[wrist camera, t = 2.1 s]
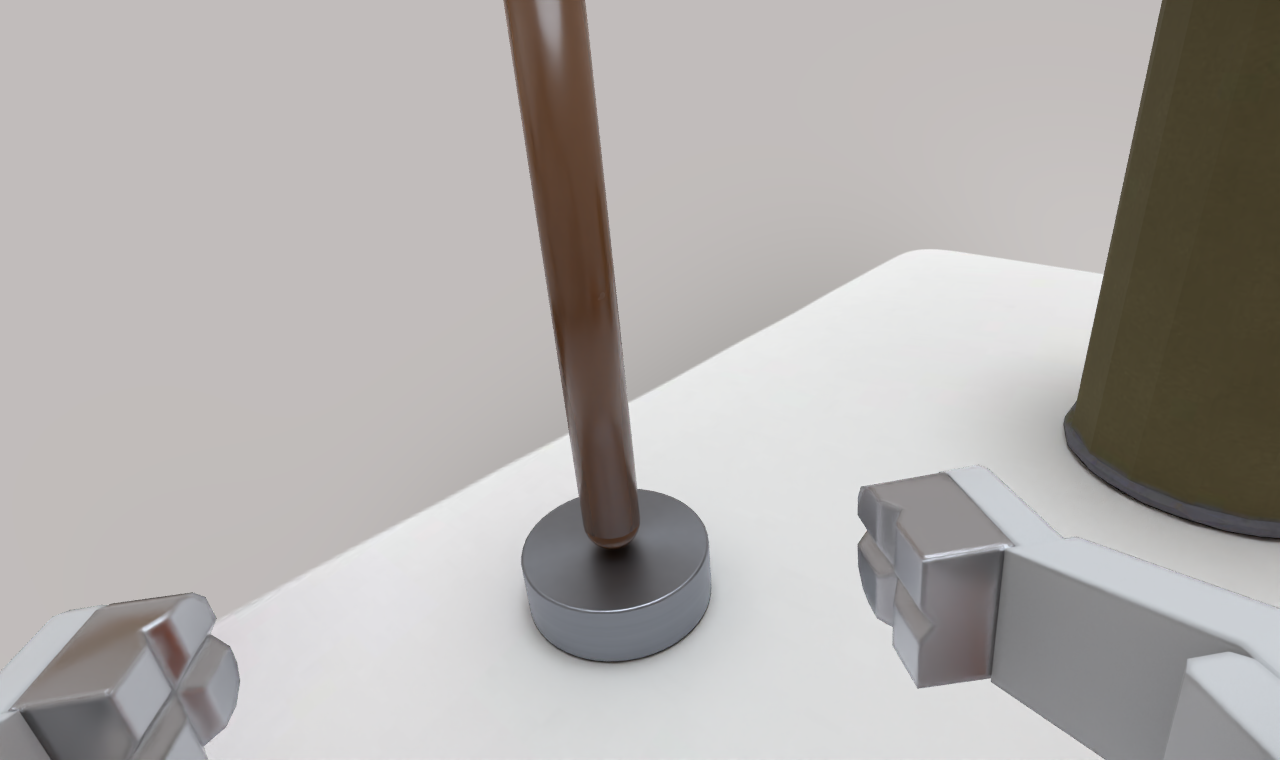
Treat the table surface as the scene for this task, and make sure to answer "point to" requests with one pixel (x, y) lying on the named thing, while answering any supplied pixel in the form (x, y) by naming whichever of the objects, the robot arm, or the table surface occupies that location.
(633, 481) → the peg on round base
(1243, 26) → the canister
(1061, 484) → the table surface
